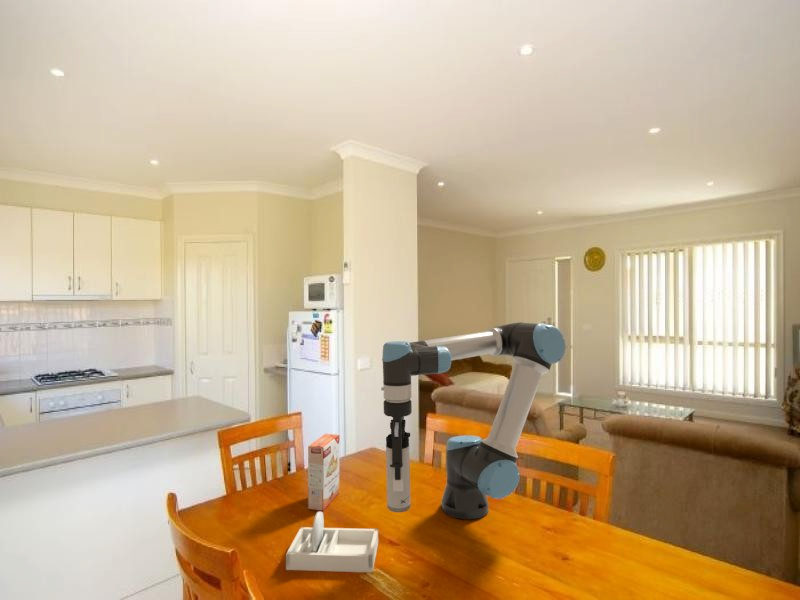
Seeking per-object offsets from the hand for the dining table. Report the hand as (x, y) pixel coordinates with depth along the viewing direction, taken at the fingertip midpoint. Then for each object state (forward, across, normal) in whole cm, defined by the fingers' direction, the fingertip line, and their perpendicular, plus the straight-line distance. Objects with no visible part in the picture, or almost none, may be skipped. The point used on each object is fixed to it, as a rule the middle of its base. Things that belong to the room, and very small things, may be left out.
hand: (399, 484), depth 117 cm
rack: (+18, +2, -18) cm, 25 cm away
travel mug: (+6, 0, 0) cm, 6 cm away
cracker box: (+19, -29, -28) cm, 44 cm away
